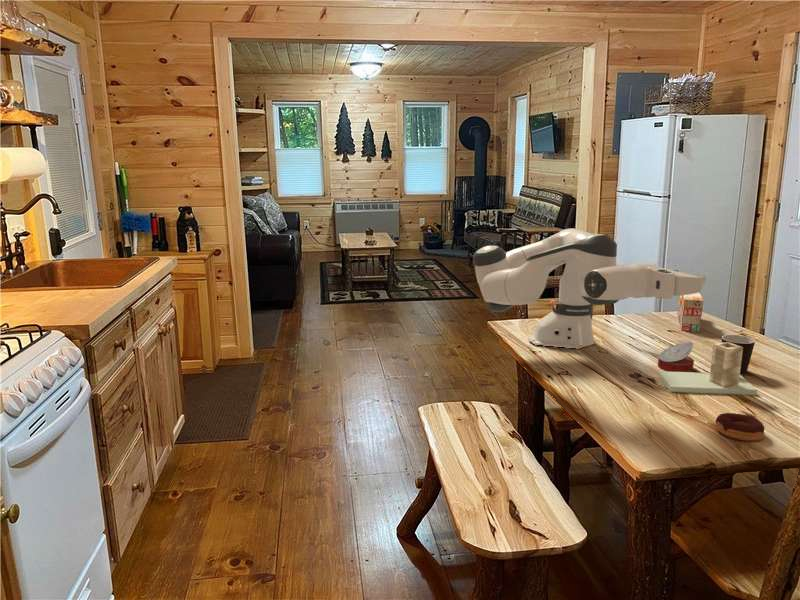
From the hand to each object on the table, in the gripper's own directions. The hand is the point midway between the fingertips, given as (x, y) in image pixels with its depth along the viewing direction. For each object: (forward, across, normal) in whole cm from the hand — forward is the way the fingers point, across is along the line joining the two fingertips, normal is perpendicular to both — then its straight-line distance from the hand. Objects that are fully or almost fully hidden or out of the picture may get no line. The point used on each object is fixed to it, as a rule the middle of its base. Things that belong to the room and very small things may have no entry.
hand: (689, 276), depth 156 cm
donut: (-6, +26, -32) cm, 42 cm away
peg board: (+9, 0, -32) cm, 33 cm away
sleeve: (+12, +4, -30) cm, 33 cm away
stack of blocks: (+50, -51, -32) cm, 78 cm away
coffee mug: (+27, -7, -32) cm, 42 cm away
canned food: (+11, -14, -32) cm, 37 cm away
